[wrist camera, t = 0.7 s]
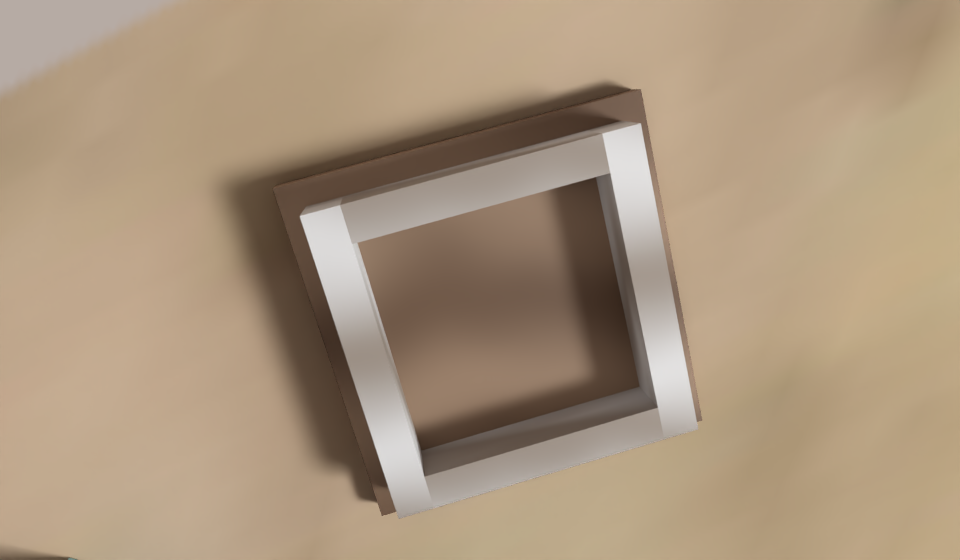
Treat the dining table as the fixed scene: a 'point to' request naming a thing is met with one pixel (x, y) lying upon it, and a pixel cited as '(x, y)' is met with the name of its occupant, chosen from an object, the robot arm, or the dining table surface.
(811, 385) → the dining table surface
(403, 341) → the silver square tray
